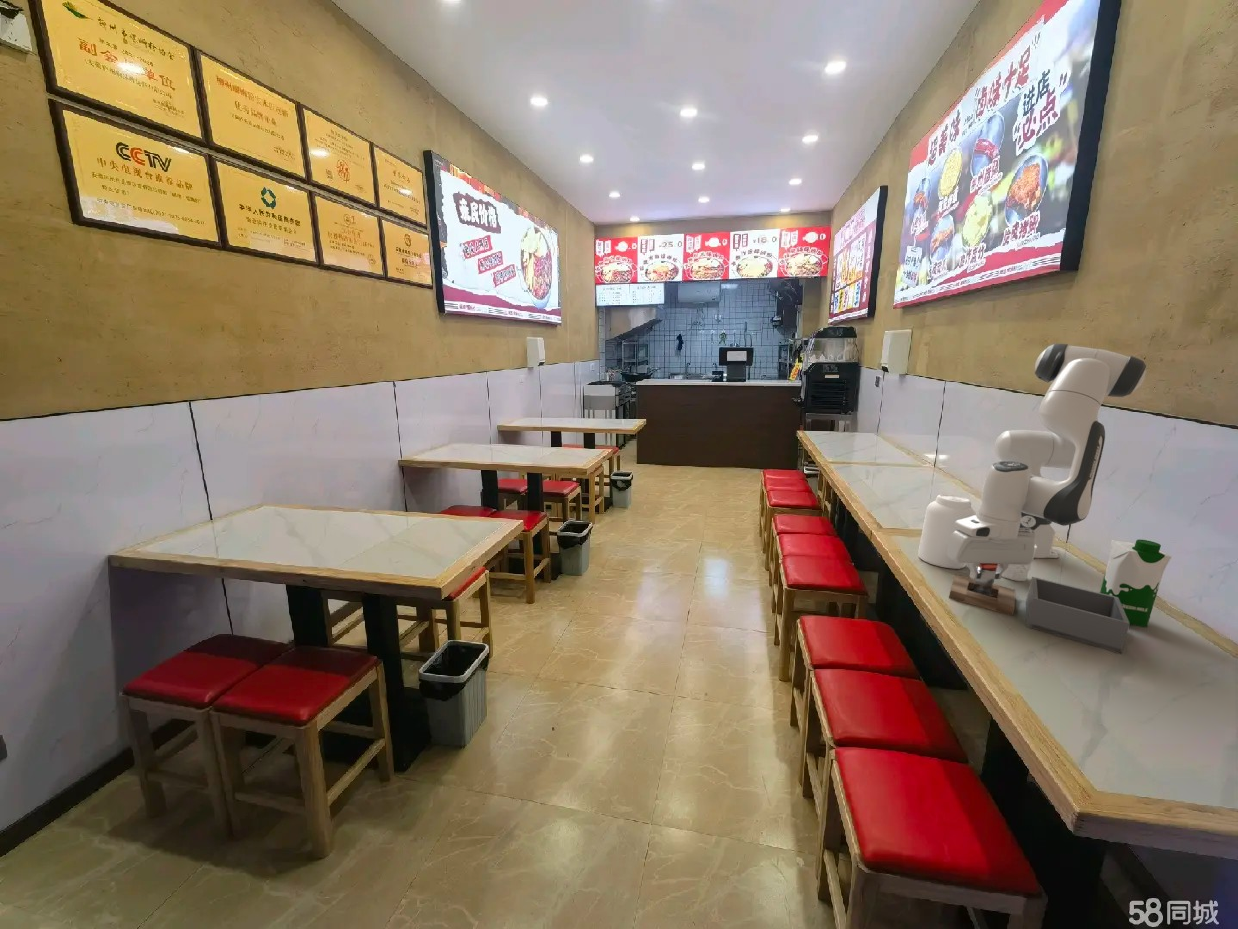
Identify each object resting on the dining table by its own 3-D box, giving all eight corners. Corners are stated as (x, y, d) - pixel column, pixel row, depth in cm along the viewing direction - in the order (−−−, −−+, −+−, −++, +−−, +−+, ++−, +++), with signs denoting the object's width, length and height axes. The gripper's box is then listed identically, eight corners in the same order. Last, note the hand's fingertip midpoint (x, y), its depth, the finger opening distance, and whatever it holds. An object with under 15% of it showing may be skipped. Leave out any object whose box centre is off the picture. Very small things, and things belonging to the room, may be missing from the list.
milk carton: (1107, 622, 121) (1130, 542, 117) (1087, 605, 130) (1108, 530, 125) (1154, 630, 119) (1180, 549, 114) (1131, 612, 127) (1154, 536, 123)
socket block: (953, 581, 140) (955, 574, 139) (1013, 596, 132) (1014, 589, 132) (948, 597, 130) (950, 590, 129) (1012, 615, 122) (1014, 607, 122)
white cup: (1035, 584, 141) (1043, 550, 139) (1003, 580, 142) (1011, 546, 140) (1019, 572, 148) (1027, 539, 146) (989, 568, 150) (996, 536, 148)
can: (970, 573, 146) (985, 506, 142) (920, 564, 150) (933, 499, 146) (960, 557, 157) (973, 495, 153) (914, 550, 162) (926, 489, 157)
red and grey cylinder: (983, 588, 133) (989, 559, 131) (995, 595, 129) (1002, 565, 127) (968, 587, 133) (974, 558, 131) (979, 595, 129) (986, 565, 127)
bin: (1025, 602, 129) (1032, 576, 128) (1110, 624, 120) (1118, 597, 119) (1026, 626, 117) (1033, 598, 116) (1120, 653, 108) (1129, 623, 106)
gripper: (1025, 523, 131) (1013, 574, 134) (948, 521, 129) (938, 571, 133) (1047, 532, 124) (1034, 585, 128) (966, 529, 123) (955, 582, 126)
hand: (984, 578), depth 130 cm, fingers closed on red and grey cylinder, 4 cm apart
